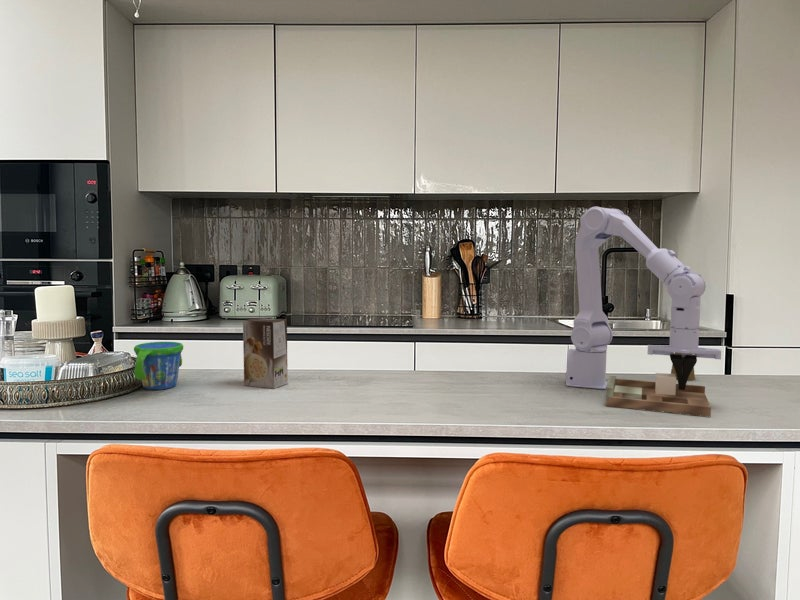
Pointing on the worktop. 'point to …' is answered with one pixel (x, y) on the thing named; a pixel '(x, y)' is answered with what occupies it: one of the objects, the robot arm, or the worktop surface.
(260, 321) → the coffee box
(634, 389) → the trap deck
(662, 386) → the cream block
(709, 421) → the worktop surface
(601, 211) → the robot arm
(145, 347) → the snack cup
